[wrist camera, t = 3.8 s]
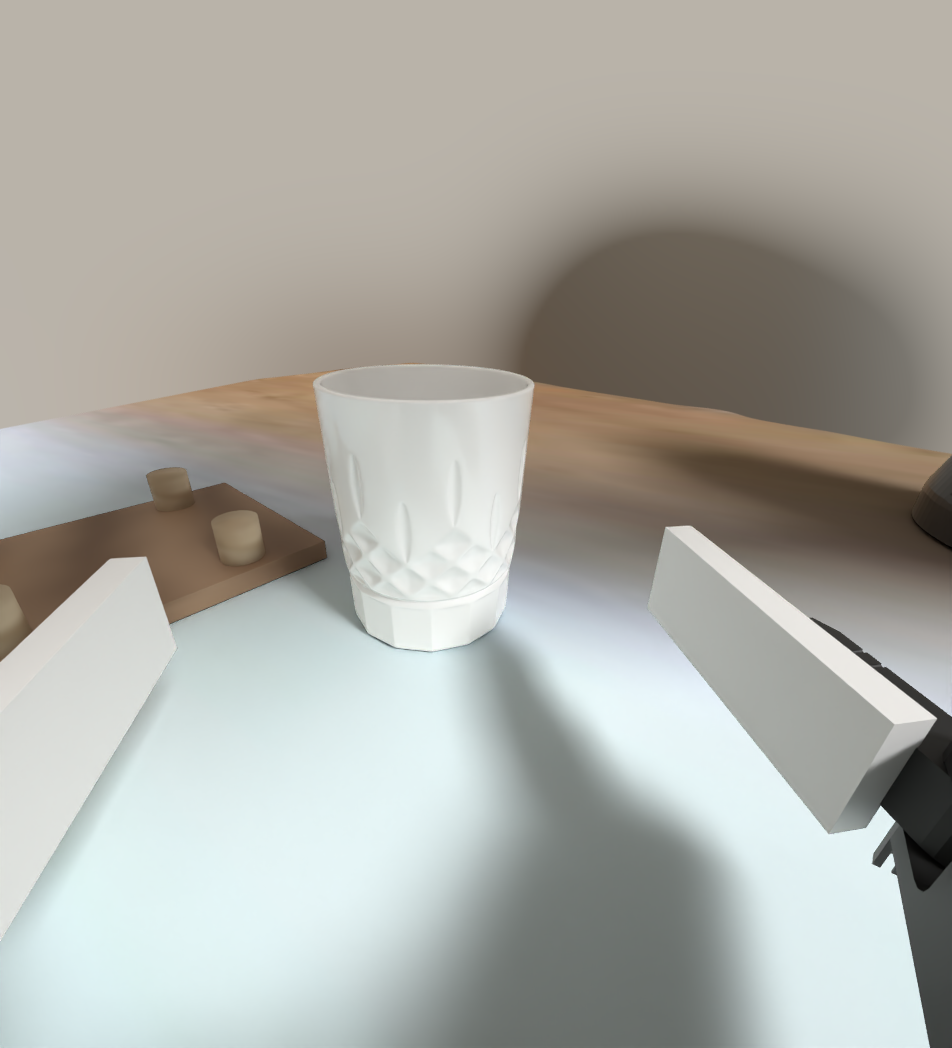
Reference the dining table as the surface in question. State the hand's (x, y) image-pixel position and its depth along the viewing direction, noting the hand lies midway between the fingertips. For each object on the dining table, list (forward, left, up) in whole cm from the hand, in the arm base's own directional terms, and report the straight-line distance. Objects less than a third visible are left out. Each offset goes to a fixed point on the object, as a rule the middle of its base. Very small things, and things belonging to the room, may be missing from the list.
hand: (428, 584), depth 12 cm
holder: (+4, -18, -6) cm, 20 cm away
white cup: (-5, -5, -6) cm, 10 cm away
